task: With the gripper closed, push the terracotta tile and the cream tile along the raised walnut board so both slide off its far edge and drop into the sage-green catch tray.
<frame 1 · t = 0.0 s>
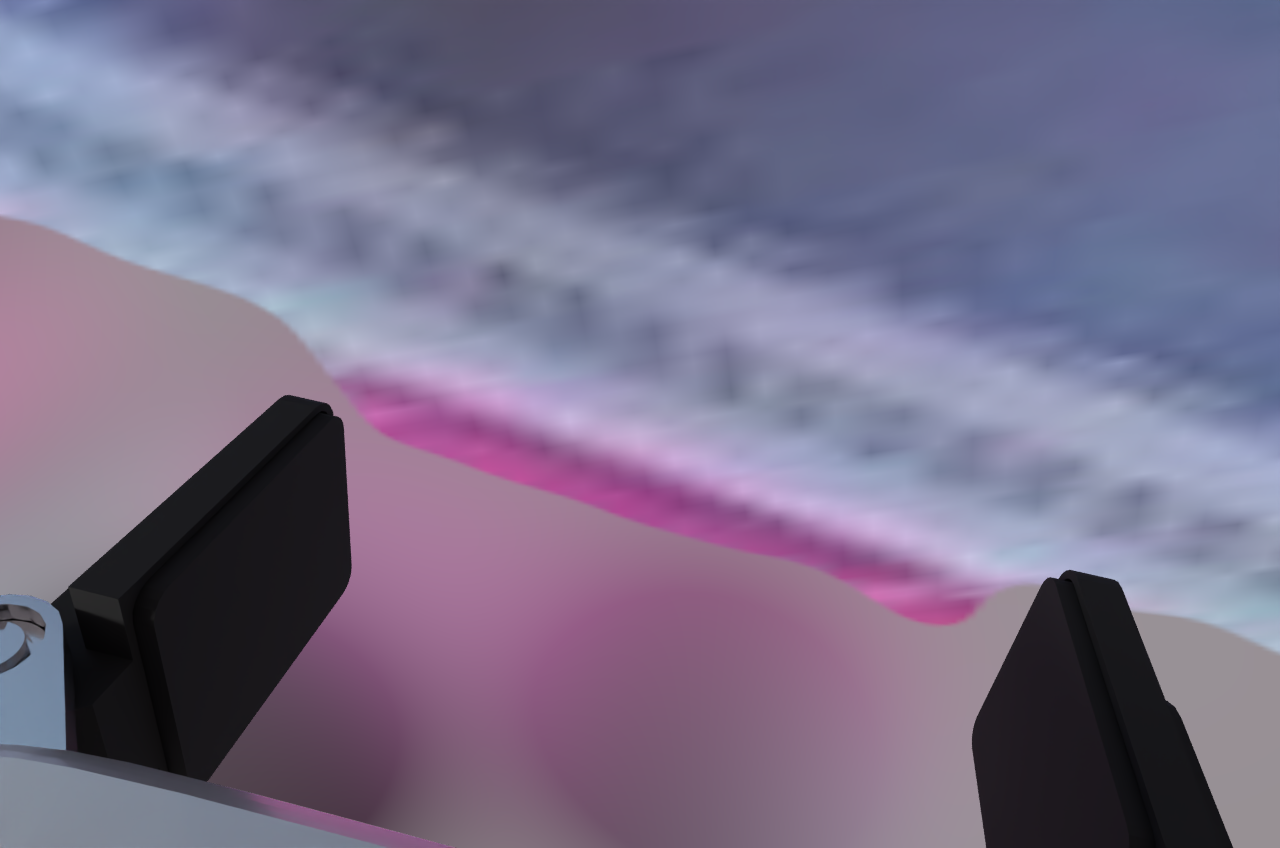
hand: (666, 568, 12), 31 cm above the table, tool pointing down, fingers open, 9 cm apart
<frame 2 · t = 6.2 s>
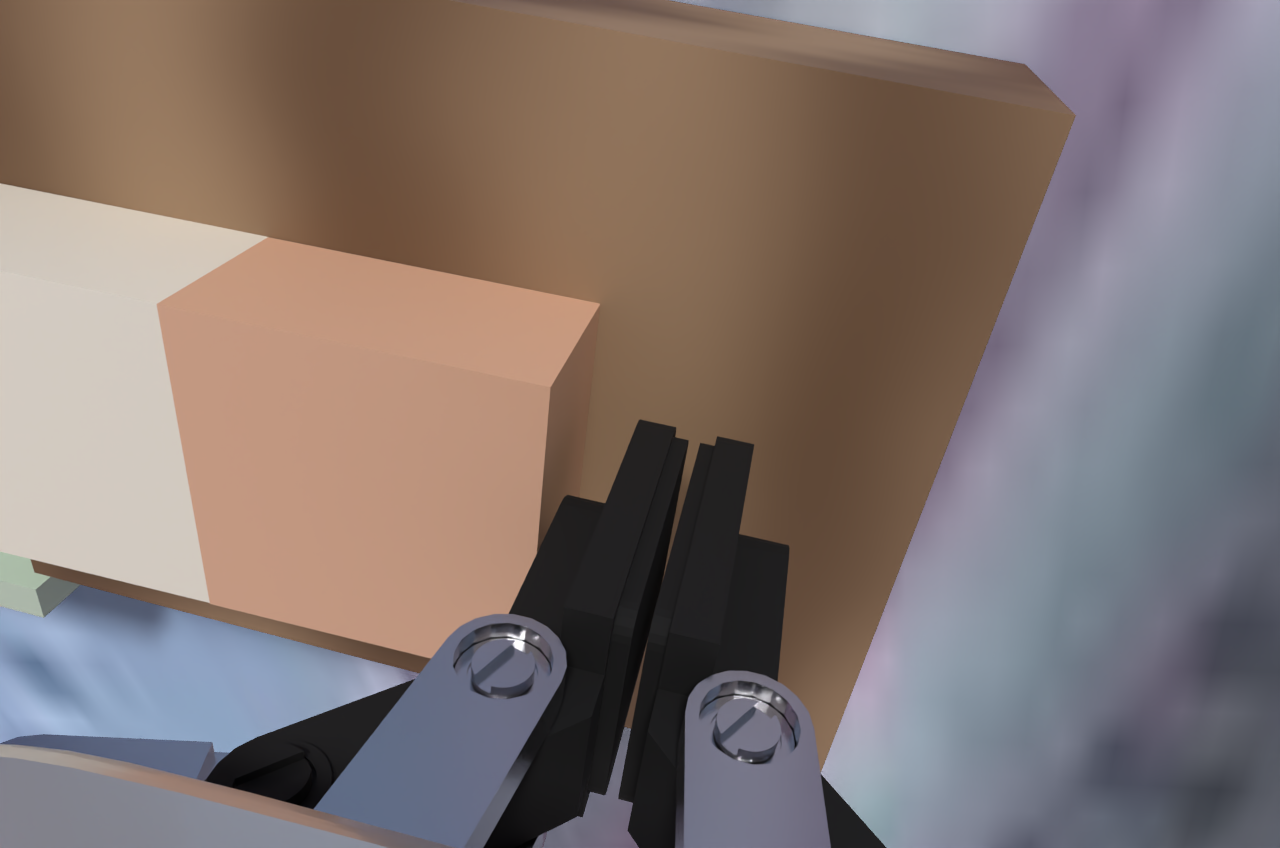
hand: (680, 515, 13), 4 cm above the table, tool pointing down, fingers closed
walnut board: (485, 318, 17), on the table
tile terracotta: (430, 417, 14), point 4 cm above the table, touching gripper, tile cream, walnut board
tile cream: (140, 353, 15), point 4 cm above the table, touching tile terracotta, walnut board
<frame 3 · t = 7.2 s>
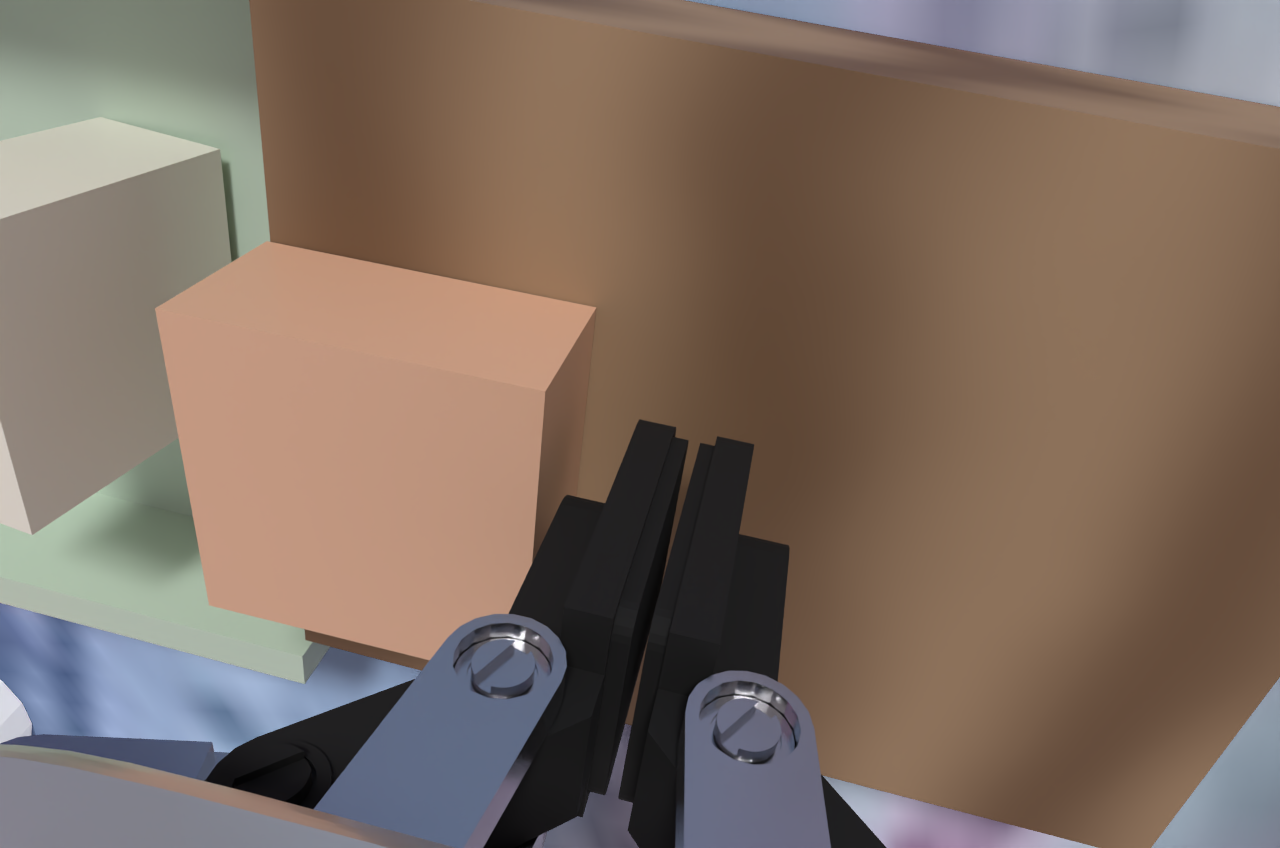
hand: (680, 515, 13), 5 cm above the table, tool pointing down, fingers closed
catch tray: (50, 220, 18), on the table
walnut board: (787, 382, 17), on the table
tile terracotta: (428, 419, 14), point 4 cm above the table
tile cream: (130, 332, 15), point 3 cm above the table, tilted 96°, touching catch tray
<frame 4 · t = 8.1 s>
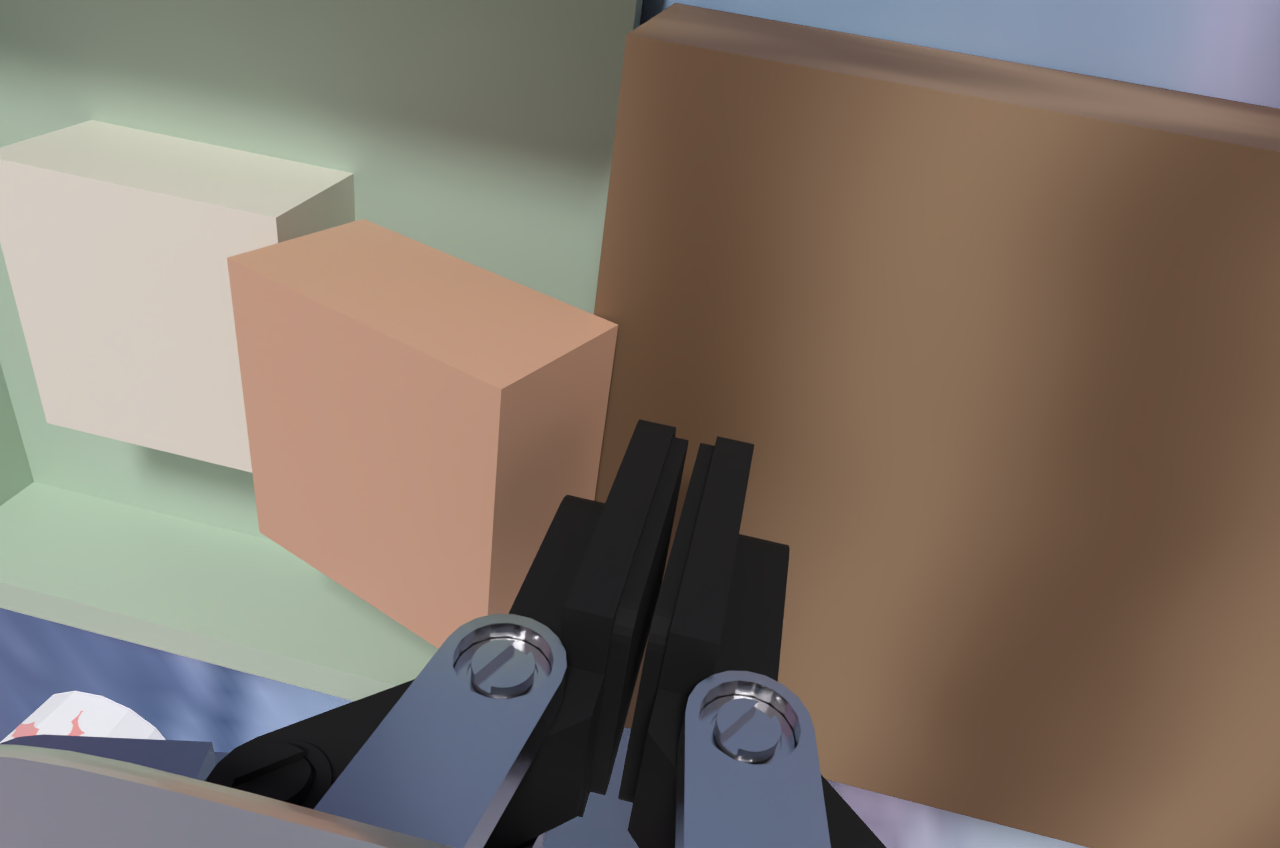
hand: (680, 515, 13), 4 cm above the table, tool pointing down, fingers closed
catch tray: (278, 275, 18), on the table
beverage cup: (115, 740, 27), on the table
walnut board: (1059, 443, 16), on the table
tile terracotta: (475, 408, 15), point 3 cm above the table, tilted 21°
tile cream: (149, 331, 15), point 3 cm above the table, tilted 180°, touching catch tray
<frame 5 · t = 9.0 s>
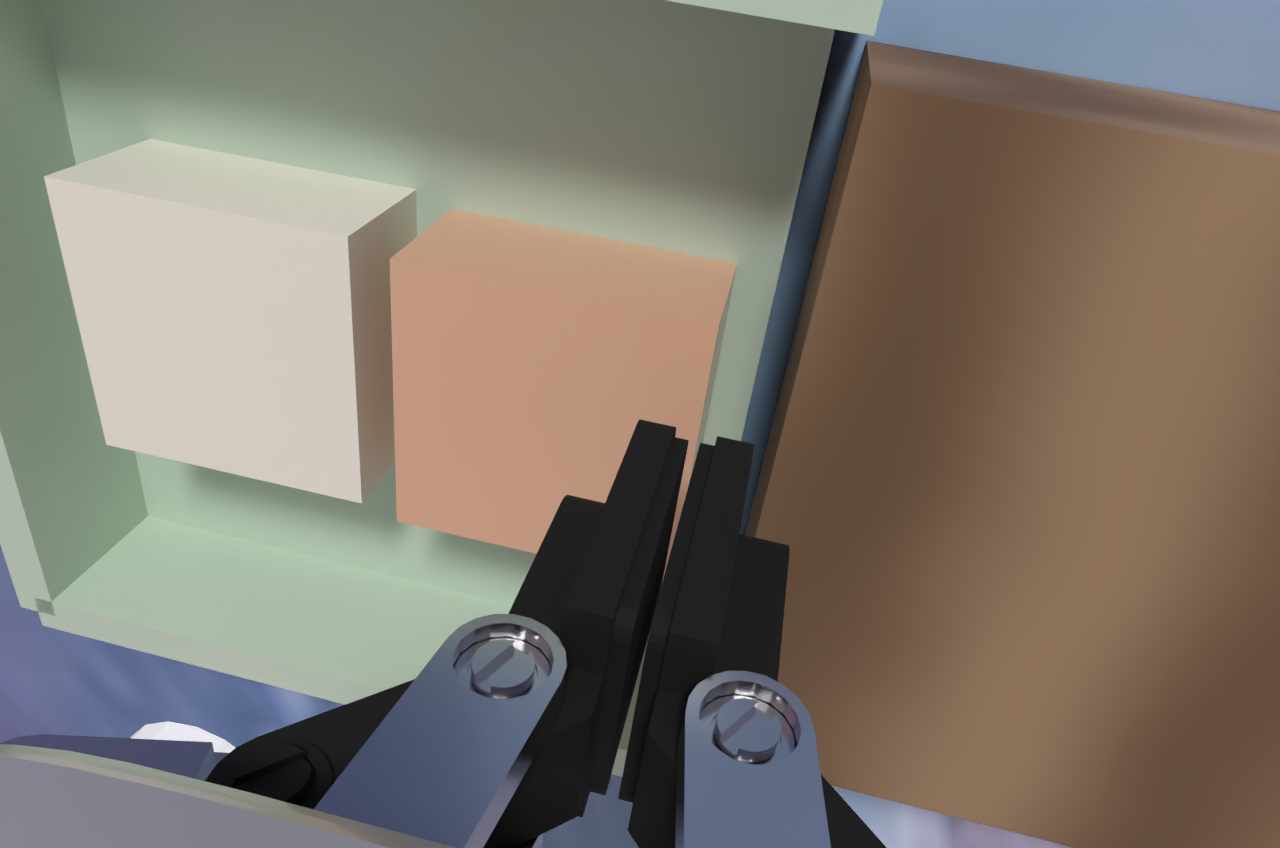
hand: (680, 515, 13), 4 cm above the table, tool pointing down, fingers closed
catch tray: (420, 311, 17), on the table
beverage cup: (204, 770, 27), on the table
walnut board: (1231, 483, 16), on the table
tile terracotta: (579, 364, 17), resting on catch tray
tile cream: (214, 351, 15), point 3 cm above the table, tilted 180°, touching catch tray
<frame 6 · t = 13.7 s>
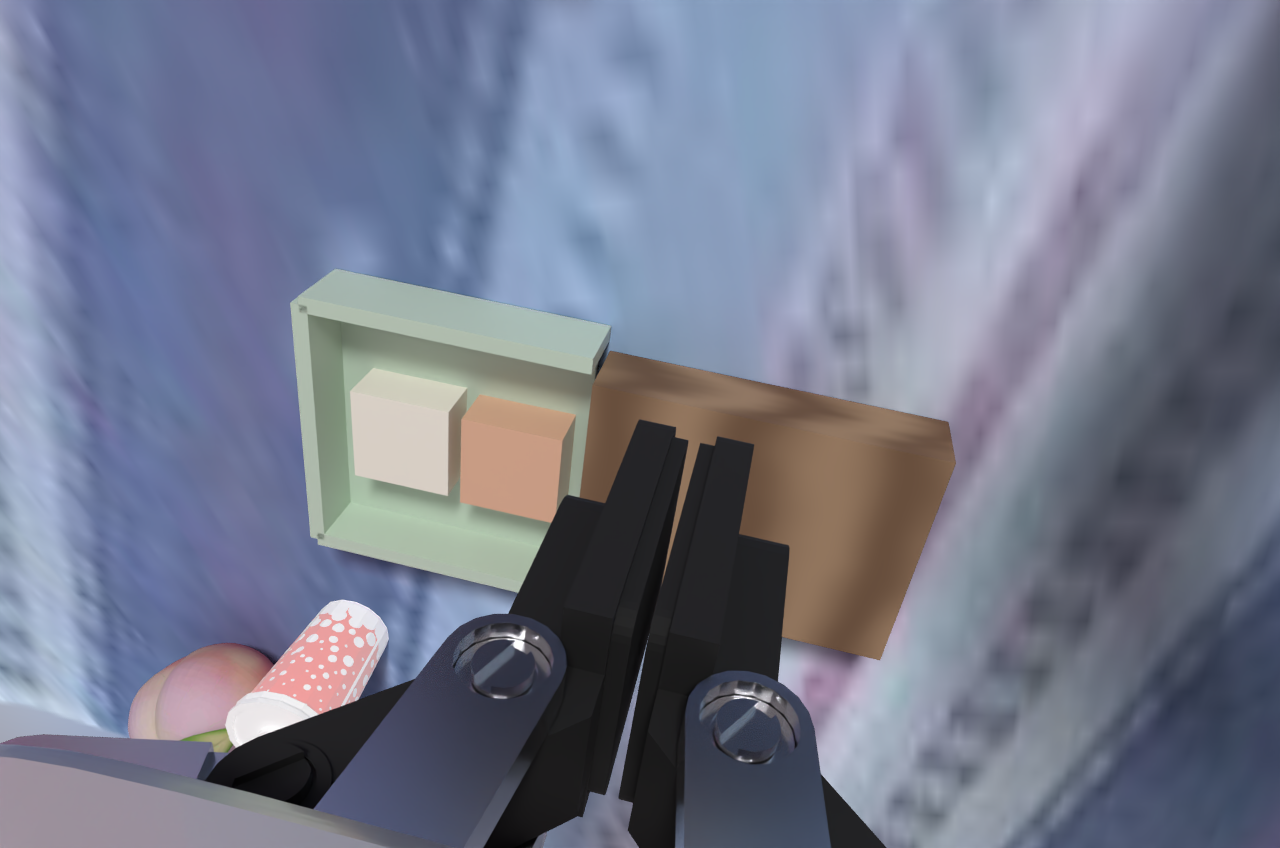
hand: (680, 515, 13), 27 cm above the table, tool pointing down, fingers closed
catch tray: (467, 425, 47), on the table
decorative fruit: (260, 655, 60), on the table
beverage cup: (355, 625, 56), on the table
walnut board: (751, 488, 45), on the table
tile terracotta: (525, 445, 46), resting on catch tray
tile cream: (400, 444, 44), point 3 cm above the table, tilted 180°, touching catch tray
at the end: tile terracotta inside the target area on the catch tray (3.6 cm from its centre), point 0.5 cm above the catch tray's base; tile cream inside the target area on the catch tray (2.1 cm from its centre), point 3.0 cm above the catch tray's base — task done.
